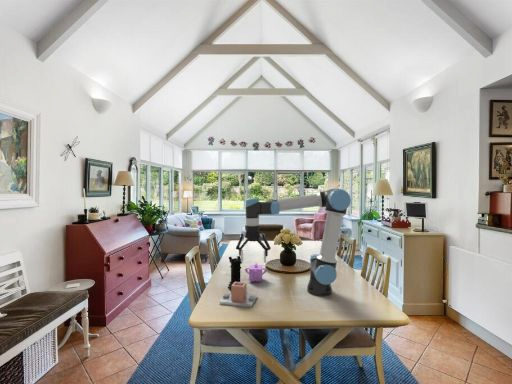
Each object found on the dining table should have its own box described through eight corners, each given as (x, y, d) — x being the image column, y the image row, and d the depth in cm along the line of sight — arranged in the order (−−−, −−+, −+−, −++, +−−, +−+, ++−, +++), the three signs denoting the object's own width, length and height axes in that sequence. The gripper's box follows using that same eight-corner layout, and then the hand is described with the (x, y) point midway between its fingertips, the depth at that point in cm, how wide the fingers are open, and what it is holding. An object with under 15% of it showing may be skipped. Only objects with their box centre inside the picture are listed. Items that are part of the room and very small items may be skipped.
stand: (256, 297, 165) (257, 281, 165) (251, 307, 152) (251, 289, 151) (227, 294, 169) (227, 279, 169) (219, 304, 156) (219, 287, 155)
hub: (246, 296, 163) (246, 282, 163) (243, 301, 156) (243, 286, 156) (234, 295, 165) (234, 281, 164) (231, 299, 158) (231, 285, 158)
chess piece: (227, 287, 181) (227, 256, 180) (239, 286, 184) (239, 255, 183) (231, 292, 173) (231, 259, 173) (243, 290, 176) (243, 258, 176)
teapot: (270, 281, 193) (270, 265, 193) (255, 285, 185) (255, 269, 185) (256, 275, 205) (256, 261, 205) (241, 279, 197) (241, 264, 197)
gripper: (274, 224, 164) (275, 260, 164) (233, 224, 169) (234, 259, 169) (273, 226, 157) (273, 264, 157) (230, 225, 162) (230, 262, 162)
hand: (253, 261), depth 163 cm, fingers open, 13 cm apart
